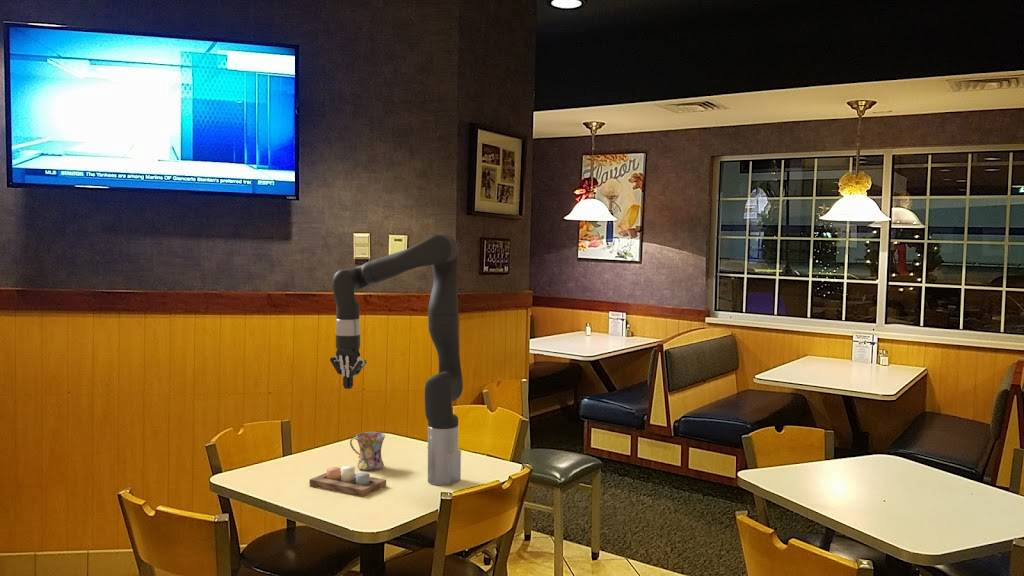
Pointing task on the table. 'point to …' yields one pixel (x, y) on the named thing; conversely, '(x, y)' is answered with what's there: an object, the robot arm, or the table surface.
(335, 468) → the salmon pink cube
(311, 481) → the button board
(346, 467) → the button mid
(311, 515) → the table surface
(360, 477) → the light blue cube
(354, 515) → the table surface
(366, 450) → the mug
